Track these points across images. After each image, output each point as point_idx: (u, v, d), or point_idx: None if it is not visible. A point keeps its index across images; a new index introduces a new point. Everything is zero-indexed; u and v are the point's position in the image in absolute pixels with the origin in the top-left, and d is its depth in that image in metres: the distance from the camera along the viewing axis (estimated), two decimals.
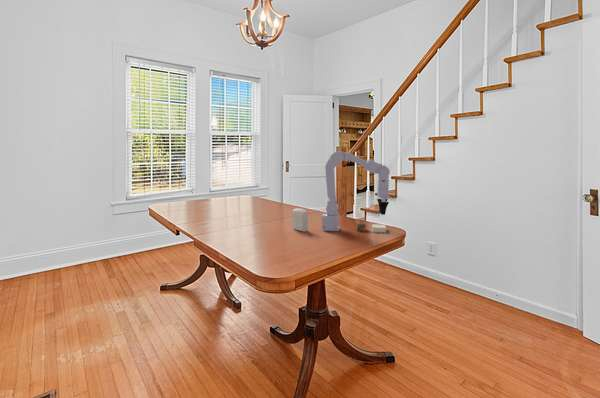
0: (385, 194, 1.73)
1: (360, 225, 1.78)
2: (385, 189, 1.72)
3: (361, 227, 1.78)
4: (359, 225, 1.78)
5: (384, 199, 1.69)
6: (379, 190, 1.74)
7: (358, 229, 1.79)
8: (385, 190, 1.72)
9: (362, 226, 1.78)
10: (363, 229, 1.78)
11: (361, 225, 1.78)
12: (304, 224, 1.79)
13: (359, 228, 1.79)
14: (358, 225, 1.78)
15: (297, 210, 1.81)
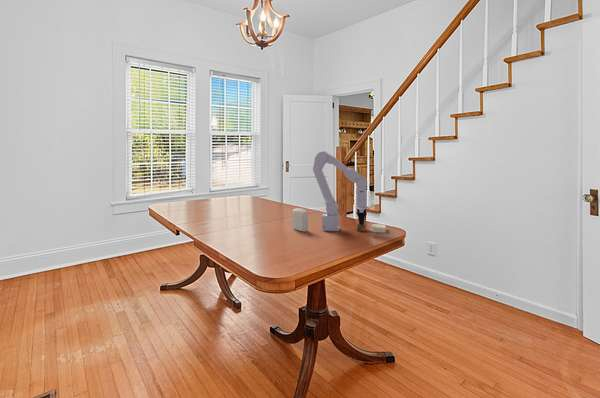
0: (363, 204, 1.76)
1: (360, 225, 1.78)
2: (363, 200, 1.75)
3: (361, 227, 1.78)
4: (359, 225, 1.78)
5: (362, 210, 1.72)
6: (357, 201, 1.77)
7: (358, 229, 1.79)
8: (363, 201, 1.75)
9: (362, 226, 1.78)
10: (363, 229, 1.78)
11: (361, 225, 1.78)
12: (304, 224, 1.79)
13: (359, 228, 1.79)
14: (358, 225, 1.78)
15: (297, 210, 1.81)
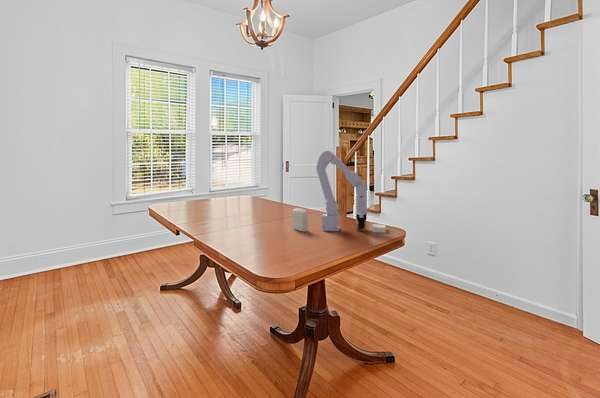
0: (363, 209, 1.76)
1: None
2: (363, 205, 1.76)
3: None
4: None
5: (362, 215, 1.72)
6: (357, 205, 1.77)
7: (358, 229, 1.79)
8: (363, 206, 1.76)
9: None
10: (363, 229, 1.78)
11: None
12: (304, 224, 1.79)
13: None
14: (358, 225, 1.78)
15: (297, 210, 1.81)
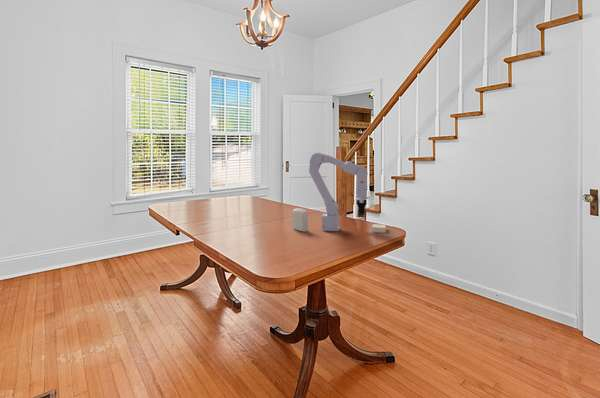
0: (363, 195, 1.75)
1: None
2: (363, 190, 1.75)
3: None
4: None
5: (362, 200, 1.71)
6: (358, 191, 1.76)
7: (358, 215, 1.78)
8: (363, 191, 1.75)
9: None
10: (363, 215, 1.77)
11: None
12: (304, 224, 1.79)
13: None
14: (358, 211, 1.77)
15: (297, 210, 1.81)
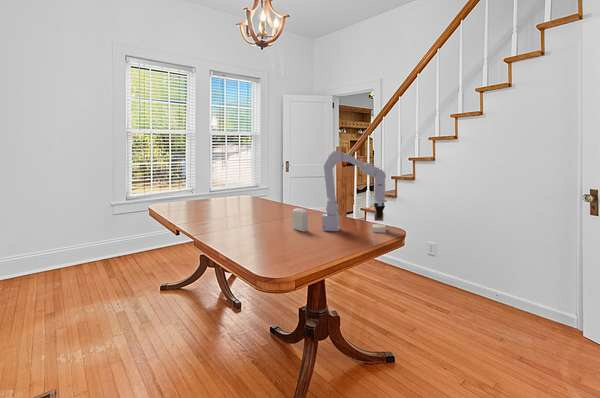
0: (381, 198, 1.74)
1: None
2: (381, 193, 1.73)
3: None
4: None
5: (380, 203, 1.69)
6: (375, 194, 1.74)
7: (376, 218, 1.76)
8: (381, 194, 1.73)
9: None
10: (381, 218, 1.76)
11: None
12: (304, 224, 1.79)
13: (376, 217, 1.76)
14: (376, 214, 1.76)
15: (297, 210, 1.81)
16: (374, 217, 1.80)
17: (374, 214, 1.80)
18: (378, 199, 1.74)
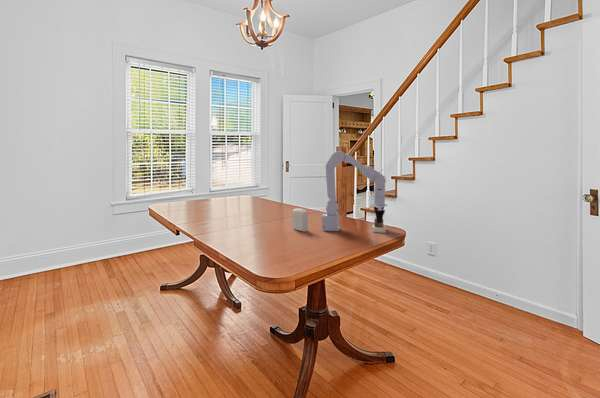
0: (381, 202, 1.74)
1: None
2: (381, 197, 1.73)
3: (378, 223, 1.76)
4: None
5: (380, 208, 1.70)
6: (375, 198, 1.75)
7: (376, 225, 1.77)
8: (381, 198, 1.74)
9: None
10: (381, 225, 1.76)
11: None
12: (304, 224, 1.79)
13: (376, 223, 1.76)
14: (376, 221, 1.76)
15: (297, 210, 1.81)
16: (374, 223, 1.80)
17: (374, 220, 1.81)
18: (378, 203, 1.74)
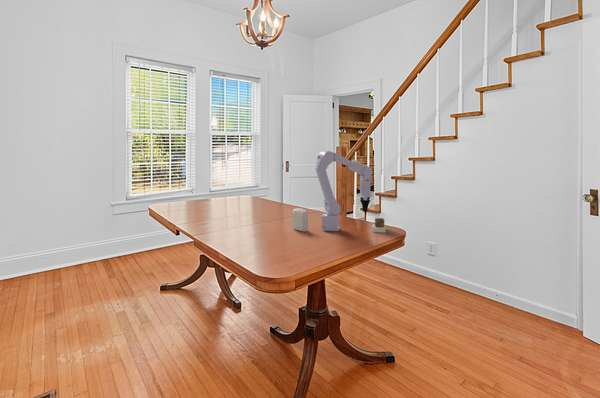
0: (367, 193, 1.83)
1: (379, 221, 1.76)
2: (367, 188, 1.83)
3: (379, 223, 1.76)
4: (378, 221, 1.76)
5: (366, 197, 1.79)
6: (361, 189, 1.84)
7: (377, 225, 1.76)
8: (367, 189, 1.83)
9: (381, 221, 1.76)
10: (382, 225, 1.76)
11: (380, 221, 1.76)
12: (304, 224, 1.79)
13: (377, 223, 1.76)
14: (377, 221, 1.76)
15: (297, 210, 1.81)
16: None
17: None
18: (364, 194, 1.83)
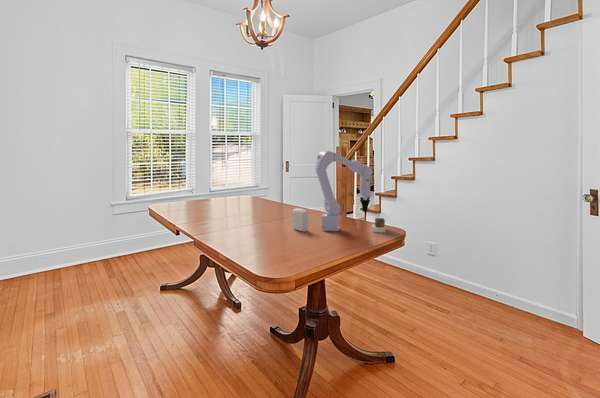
0: (367, 193, 1.83)
1: (379, 221, 1.76)
2: (367, 188, 1.83)
3: (380, 223, 1.76)
4: (378, 221, 1.76)
5: (365, 197, 1.79)
6: (361, 189, 1.84)
7: (377, 225, 1.76)
8: (367, 189, 1.83)
9: (381, 221, 1.76)
10: (382, 225, 1.76)
11: (380, 221, 1.76)
12: (304, 224, 1.79)
13: (378, 223, 1.76)
14: (377, 221, 1.76)
15: (297, 210, 1.81)
16: (375, 223, 1.80)
17: (375, 220, 1.81)
18: (364, 194, 1.84)
